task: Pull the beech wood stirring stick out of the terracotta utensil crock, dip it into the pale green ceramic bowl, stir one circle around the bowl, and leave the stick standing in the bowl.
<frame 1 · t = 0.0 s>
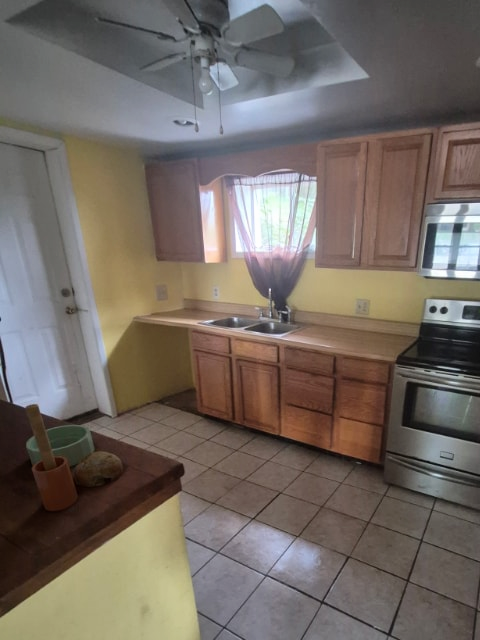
stirring stick: (61, 501, 78), point 1 cm above the table, touching crock
crock: (62, 504, 78), on the table
bread roll: (99, 477, 87), on the table
bowl: (64, 457, 95), on the table
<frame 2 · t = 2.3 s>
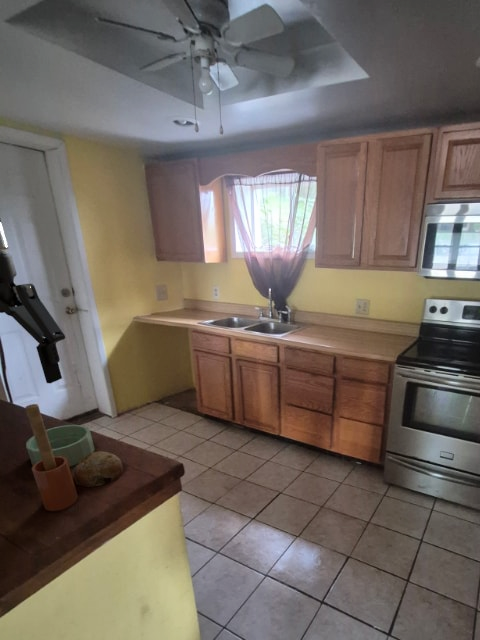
hand: (21, 379, 67), 28 cm above the table, tool pointing down, fingers open, 13 cm apart
nothing on the table moved.
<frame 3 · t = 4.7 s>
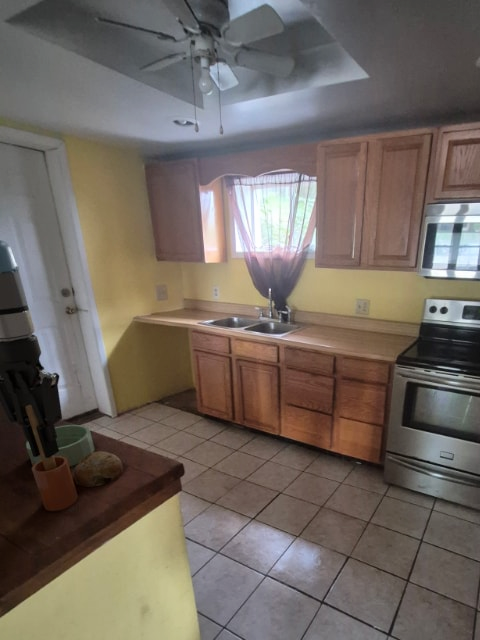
hand: (46, 453, 73), 12 cm above the table, tool pointing down, fingers closed on stirring stick, 2 cm apart
stirring stick: (61, 501, 78), point 1 cm above the table, touching crock, gripper
everything else where it was.
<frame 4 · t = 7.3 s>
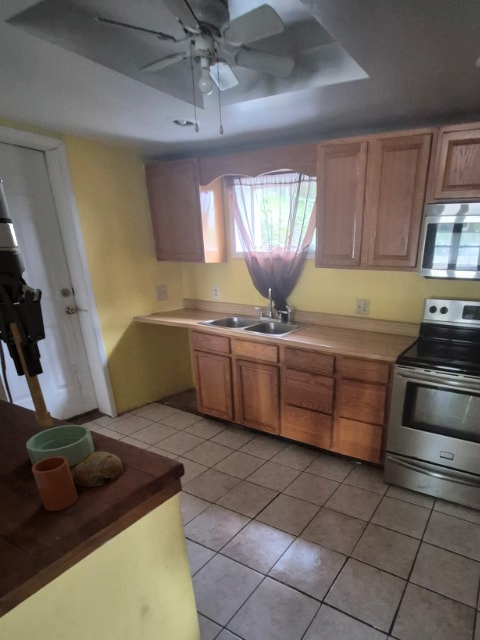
hand: (30, 374, 75), 26 cm above the table, tool pointing down, fingers closed on stirring stick, 2 cm apart
stirring stick: (45, 425, 80), point 15 cm above the table, touching gripper
everything else where it was.
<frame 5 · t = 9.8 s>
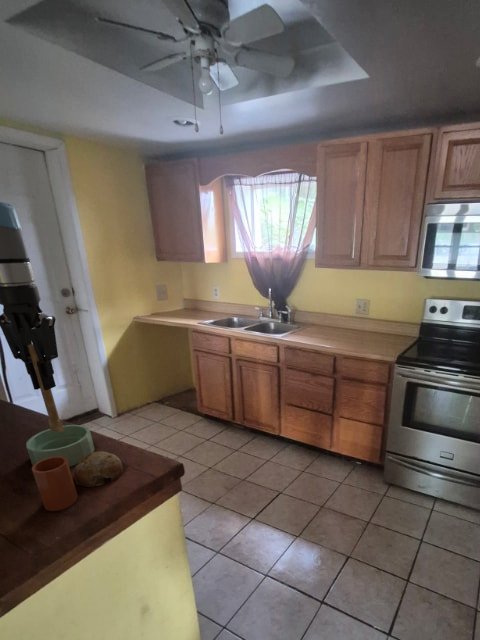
hand: (45, 387, 87), 19 cm above the table, tool pointing down, fingers closed on stirring stick, 2 cm apart
stirring stick: (58, 431, 92), point 8 cm above the table, touching gripper
everything else where it was.
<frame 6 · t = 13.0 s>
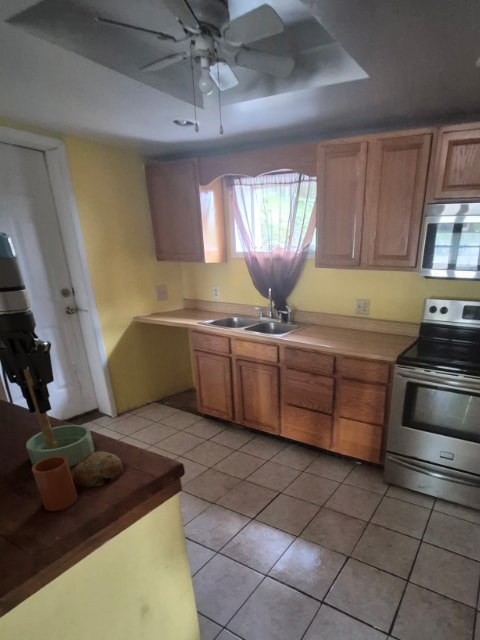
hand: (40, 410, 88), 14 cm above the table, tool pointing down, fingers closed on stirring stick, 2 cm apart
stirring stick: (53, 452, 93), point 2 cm above the table, touching gripper
everything else where it was.
when the fingers open (12 cm above the table, at t = 15.2 s): stirring stick stays where it is, resting on bowl.
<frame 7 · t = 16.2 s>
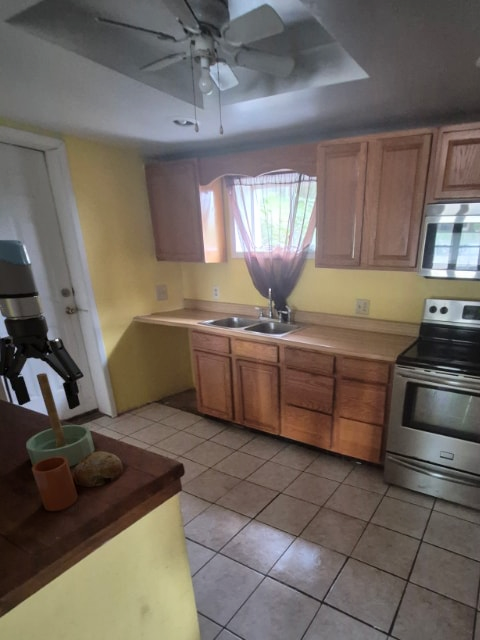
hand: (49, 405, 89), 15 cm above the table, tool pointing down, fingers open, 13 cm apart
stirring stick: (64, 455, 95), point 1 cm above the table, touching bowl
everything else where it was.
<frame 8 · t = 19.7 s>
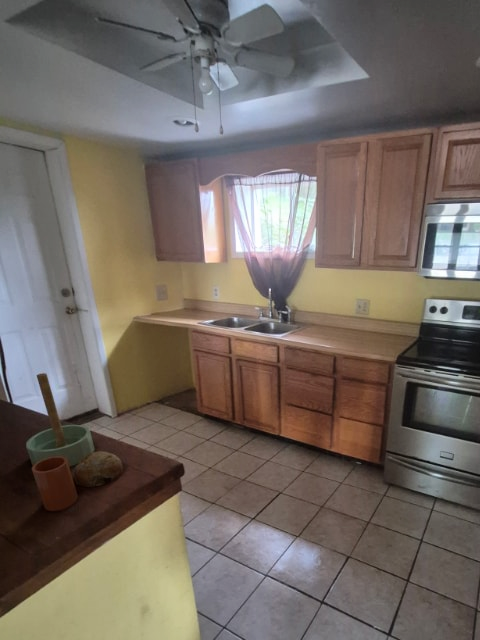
nothing on the table moved.
at the end: stirring stick inside the target area in the bowl (0.1 cm from its centre), point 0.6 cm above the bowl's base; stirring stick moved 21.0 cm from its start; the gripper is holding nothing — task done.
